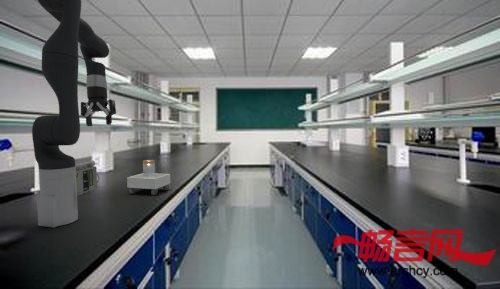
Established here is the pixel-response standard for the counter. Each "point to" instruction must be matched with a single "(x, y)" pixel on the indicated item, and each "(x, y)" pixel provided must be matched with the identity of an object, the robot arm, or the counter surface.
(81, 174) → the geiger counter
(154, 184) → the parts cart
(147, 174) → the canister
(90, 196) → the counter surface
